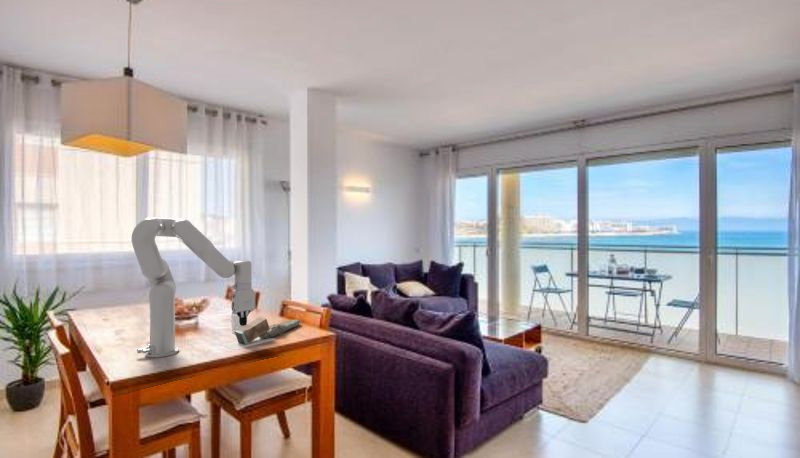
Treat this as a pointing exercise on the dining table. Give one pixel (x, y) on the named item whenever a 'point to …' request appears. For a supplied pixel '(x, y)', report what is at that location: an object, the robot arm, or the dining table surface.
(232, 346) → the mat
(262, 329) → the walnut block
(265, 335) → the long grey stone
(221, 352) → the dining table surface
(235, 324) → the white cup
